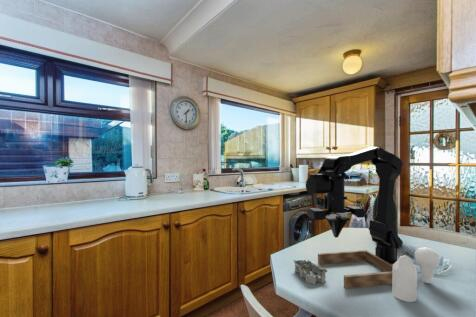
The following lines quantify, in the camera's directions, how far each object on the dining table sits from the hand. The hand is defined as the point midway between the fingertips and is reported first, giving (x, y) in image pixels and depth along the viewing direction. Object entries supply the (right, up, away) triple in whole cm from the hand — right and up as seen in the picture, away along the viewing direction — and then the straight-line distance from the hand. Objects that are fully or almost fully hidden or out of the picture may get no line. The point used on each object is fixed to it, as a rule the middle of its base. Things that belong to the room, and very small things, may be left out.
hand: (335, 237), depth 80 cm
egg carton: (-10, -12, -3) cm, 16 cm away
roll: (+13, -12, -15) cm, 23 cm away
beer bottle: (+35, -12, +28) cm, 46 cm away
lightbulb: (+25, -12, -8) cm, 29 cm away
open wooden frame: (+7, -12, -1) cm, 14 cm away
